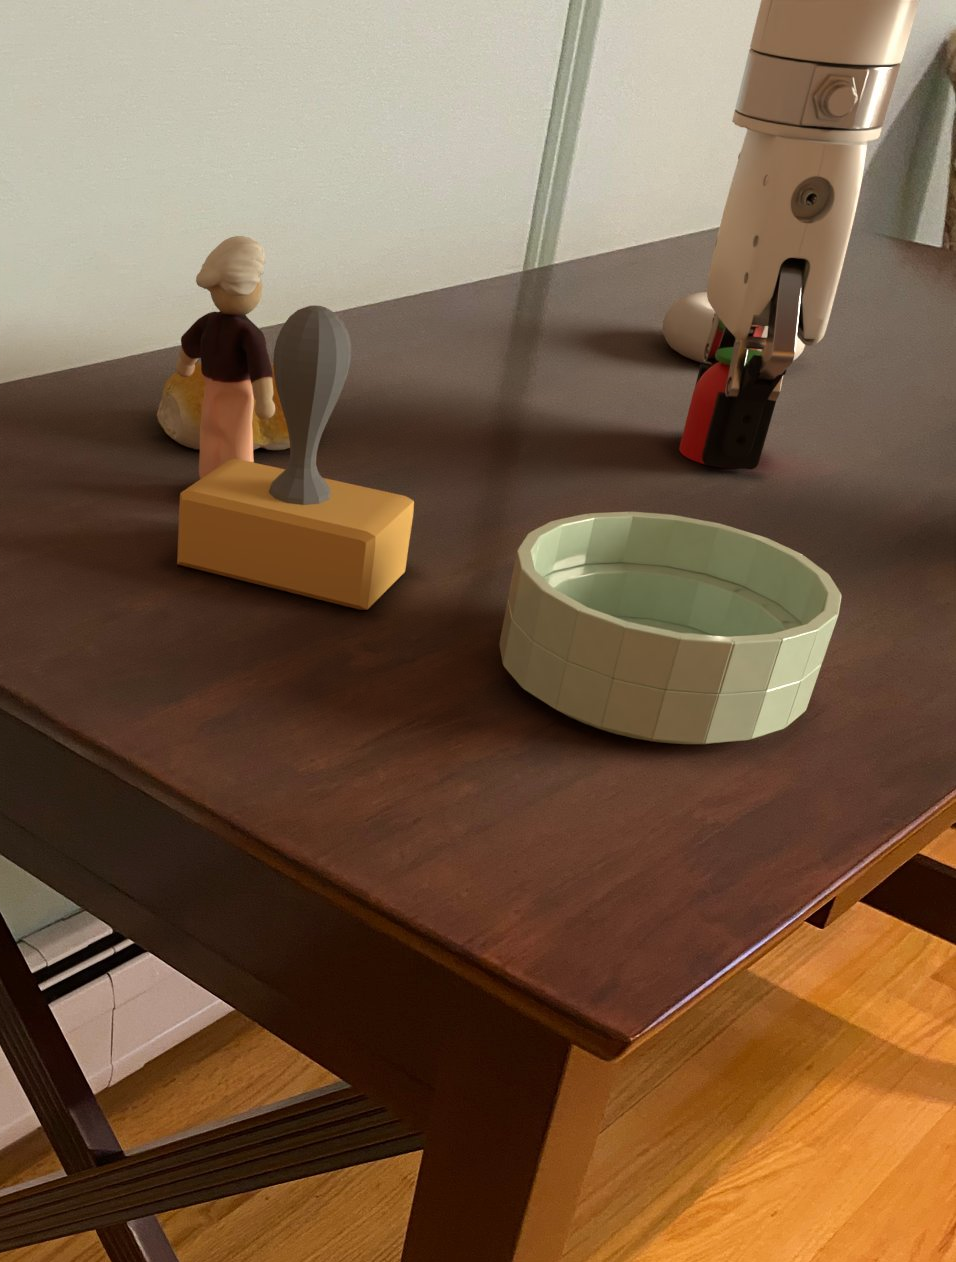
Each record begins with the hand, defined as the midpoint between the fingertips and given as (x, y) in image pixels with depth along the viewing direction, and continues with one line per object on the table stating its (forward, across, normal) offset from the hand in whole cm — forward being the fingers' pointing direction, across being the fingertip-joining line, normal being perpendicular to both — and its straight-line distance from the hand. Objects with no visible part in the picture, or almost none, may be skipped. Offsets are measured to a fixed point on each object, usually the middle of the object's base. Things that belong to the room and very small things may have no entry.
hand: (720, 446), depth 89 cm
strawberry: (0, 0, 0) cm, 0 cm away
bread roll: (+1, -3, +29) cm, 29 cm away
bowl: (0, -31, +9) cm, 32 cm away
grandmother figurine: (+1, -13, +29) cm, 32 cm away
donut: (+1, +22, -5) cm, 23 cm away
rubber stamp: (+1, -22, +25) cm, 33 cm away
